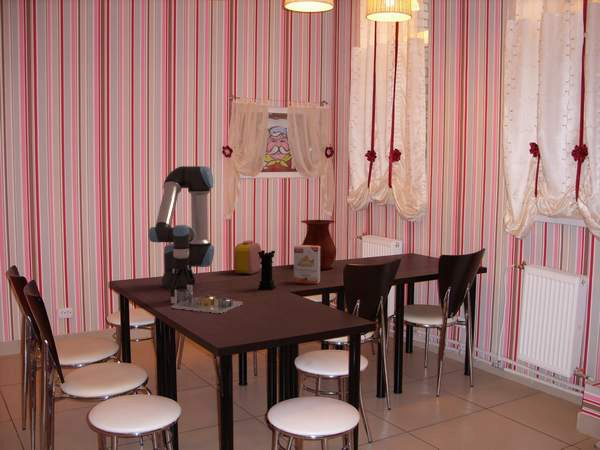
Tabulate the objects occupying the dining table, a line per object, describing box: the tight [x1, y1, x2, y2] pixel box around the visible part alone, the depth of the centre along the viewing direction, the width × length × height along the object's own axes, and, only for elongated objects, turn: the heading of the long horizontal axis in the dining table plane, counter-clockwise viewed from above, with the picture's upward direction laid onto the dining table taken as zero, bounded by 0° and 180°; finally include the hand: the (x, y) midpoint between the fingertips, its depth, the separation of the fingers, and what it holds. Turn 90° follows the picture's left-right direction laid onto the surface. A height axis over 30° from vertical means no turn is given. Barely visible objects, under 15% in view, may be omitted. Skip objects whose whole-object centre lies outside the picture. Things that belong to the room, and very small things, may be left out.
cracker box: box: [293, 244, 321, 285], centre depth 363 cm, size 14×6×21 cm, turn 77°
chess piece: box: [257, 249, 277, 291], centre depth 347 cm, size 8×8×20 cm
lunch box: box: [233, 240, 262, 275], centre depth 395 cm, size 18×11×19 cm, turn 162°
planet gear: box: [176, 288, 189, 303], centre depth 317 cm, size 8×8×5 cm
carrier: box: [171, 293, 243, 314], centre depth 304 cm, size 26×20×6 cm
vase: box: [300, 219, 337, 271], centre depth 413 cm, size 23×24×30 cm
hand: (182, 300), depth 317 cm, fingers open, 13 cm apart
